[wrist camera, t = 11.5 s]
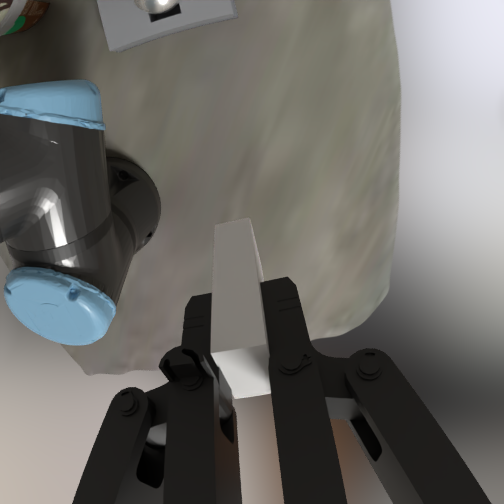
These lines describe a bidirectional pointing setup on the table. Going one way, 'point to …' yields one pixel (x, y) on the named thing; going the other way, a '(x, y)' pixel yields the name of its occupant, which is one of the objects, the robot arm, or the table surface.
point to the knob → (156, 5)
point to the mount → (157, 20)
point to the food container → (20, 15)
